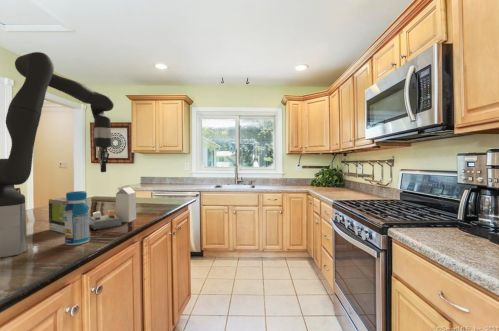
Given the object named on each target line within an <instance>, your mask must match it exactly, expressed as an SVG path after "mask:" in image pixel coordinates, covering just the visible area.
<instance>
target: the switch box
mask: <svg viewBox="0 0 499 331" xmlns="http://www.w3.org/2000/svg"><path fill="white" fill-rule="evenodd" d="M120 226H122V222H121V218H119V217H118V216H116V214H115V215H108V214H105V215H102V216H100V217H96V218H94V217H93V216H89V228H91V229H92V230H93V231H96V229H97V230H102V229H110V228H114V227H120Z"/></svg>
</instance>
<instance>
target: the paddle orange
mask: <svg viewBox="0 0 499 331" xmlns="http://www.w3.org/2000/svg"><path fill="white" fill-rule="evenodd" d="M106 212H107V213H106V215H116V210H114V209H111V210H110V209H107V211H106Z"/></svg>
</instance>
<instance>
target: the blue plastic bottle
mask: <svg viewBox="0 0 499 331" xmlns="http://www.w3.org/2000/svg"><path fill="white" fill-rule="evenodd" d="M87 196H88V195H87V191H85V190H84V191H83V190H82V191H79V190H78V191H69V192H66V194H65V197H66V200H67V201H68V204H67V205H66V207H65V209H64V212H65V215H64V220H65V233H64V244H65V245H66V246H78V245H83V244H86V243H88V242H89V241H90V226H89V218H90V217H91V216H90V212H89V209H90V207H89V204H88V203H87V201H86V202H85V200H87Z"/></svg>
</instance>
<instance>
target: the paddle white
mask: <svg viewBox="0 0 499 331" xmlns="http://www.w3.org/2000/svg"><path fill="white" fill-rule="evenodd" d="M100 216H103V215H102V212H101V211H98V210H97V211H95V212H92V217H94V218H96V217H100Z"/></svg>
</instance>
